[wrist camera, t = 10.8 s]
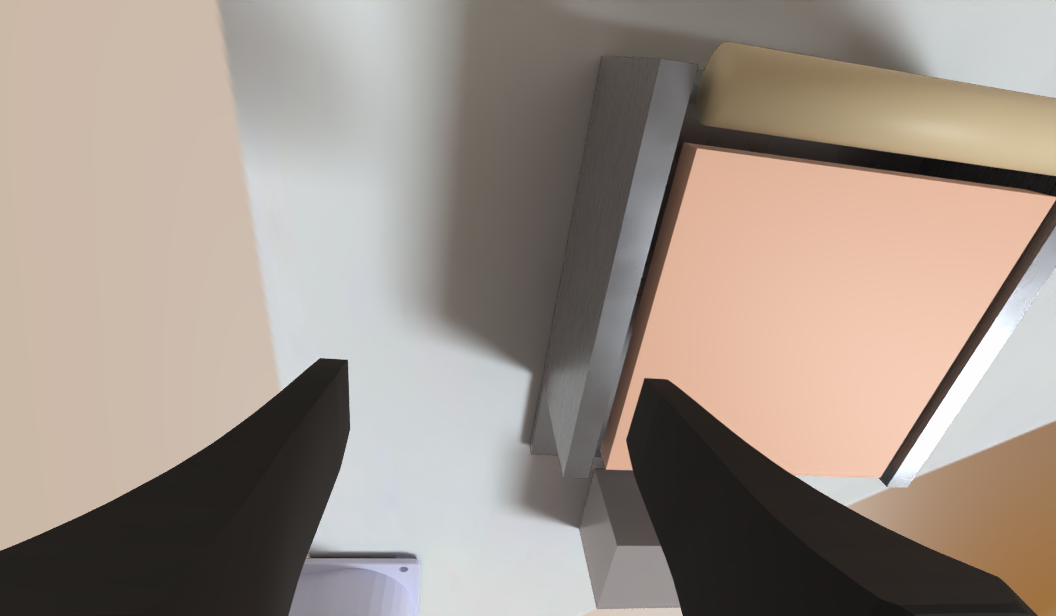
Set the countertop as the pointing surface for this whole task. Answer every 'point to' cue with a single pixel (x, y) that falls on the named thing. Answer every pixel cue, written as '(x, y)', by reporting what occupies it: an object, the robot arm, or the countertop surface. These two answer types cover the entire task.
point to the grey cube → (623, 546)
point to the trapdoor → (829, 256)
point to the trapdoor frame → (632, 231)
